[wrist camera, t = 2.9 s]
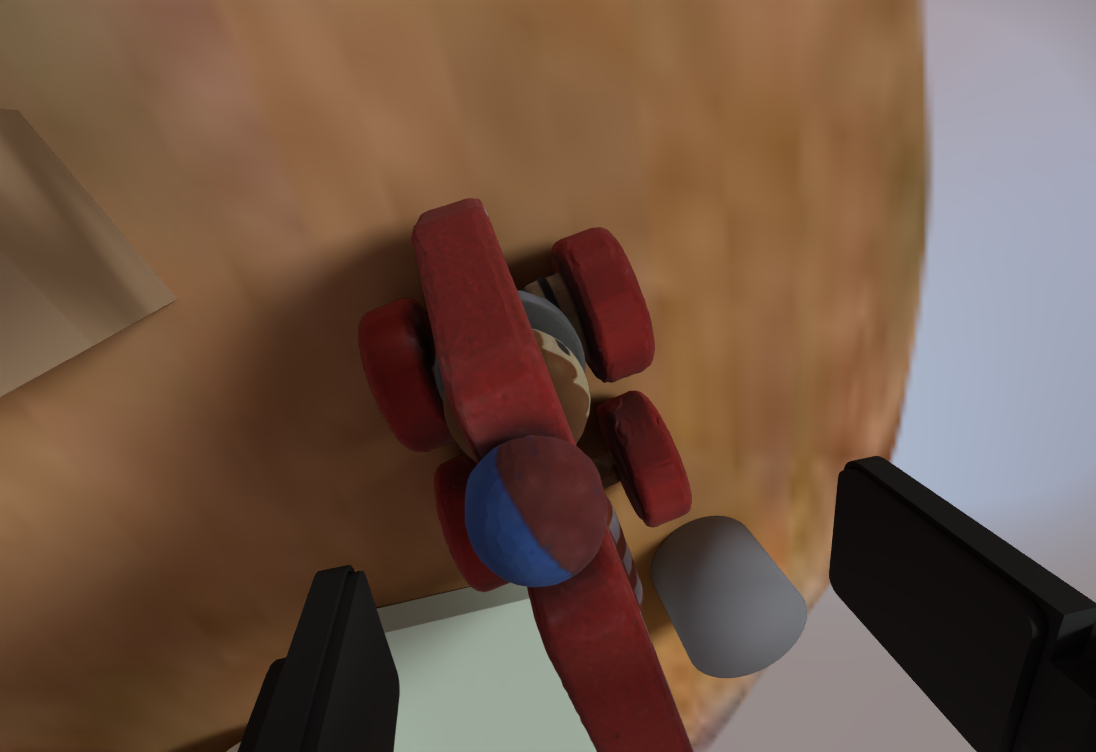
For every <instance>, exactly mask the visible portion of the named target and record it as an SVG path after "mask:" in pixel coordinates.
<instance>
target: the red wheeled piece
mask: <svg viewBox="0 0 1096 752" xmlns="http://www.w3.org/2000/svg"><path fill="white" fill-rule="evenodd" d="M411 239H412V243H413V246H414V251H415V256H416V260H417V263H418V268H419V273H420V278H421V284H422V288H423V293H424V297H425V302H426V306H427V311H428V315H429V317H428V315H427V313H426V312H425V310H424V309H423V307H422V306H421V305H420V304H419V303H418V302H416V301H414V300H412V299H400V300H397V301H395V302H392V303H389V304H387V305H384V306H381V307H379V308H377V309H374V310H372V311H370V312H368V313H366V314H365V315H364V316H363V317H362V320H361V322H360V324H359V328H358V342H359V348H360V354H361V359H362V364H363V368H364V371H365V374H366V377H367V380H368V383H369V386H370V389H371V392H372V394H373V396H374V398H375V400H376V403H377V405H378V407H379V410H380V412H381V414H382V415H383V417H384V418H385V420H386V422H387V423H388V425H389V427H390V429H391V430H392V432H393V433H394V434H395V436H396V437H397V439H398V440H399V441H400V442H401V443H402V444H403V445H404V446H405V447H407V448H409V449H410V450H412V451H414V452H417V453H418V452H428V451H430V450H432V449H436V448H439V447H441V446H443V445H447V444H448V443H450V442H454V441H456V443H457V444H458V445H459V447H460V448H461V449H462V450H463V451H464V452H465V453H466V454H464V455H461V456H459V457H456V458H454V459H451V460H449V461H447V462H445V463H443V464H441V465H440V466H439V467H438V469H437V471H436V473H435V478H434V491H435V499H436V506H437V512H438V516H439V520H440V523H441V526H442V530H443V533H444V536H445V539H446V542H447V544H448V546H449V550H450V553H451V555H452V557H453V559H454V561H455V563H456V565H457V567H458V569H459V571H460V572H461V574H462V575H463V578H464V579H465V580H466V581H467V583H468V584H469V585H470V586H471V587H472V588H473V589H475V590H476V591H479V592H488V591H492V590H494V589H496V588H499V587H501V586H503V585H506V584H508V583H513V584H516V585H520V586H527V590H528V595H529V599H530V602H531V606H532V611H533V615H534V619H535V622H536V625H537V628H538V631H539V634H540V636H541V639H542V642H543V645H544V648H545V650H546V653H547V655H548V657H549V660H550V661H551V662H552V664H553V667H554V669H555V671H556V672H557V674H558V676H559V678H560V679H561V682H562V685H563V688H564V689H565V690H566V692H567V694H568V696H569V699H570V700H571V702H572V704H573V706H574V708H575V710H576V712H577V714H578V715H579V716H580V720H581V723H582V724H583V726H584V728H585V729H586V731H587V733H588V735H589V737H590V740H591V741H592V743H593V745H594V747H595V749H596V751H597V752H694V751H693V748H692V746H691V743H690V741H689V738H688V736H687V733H686V731H685V728H684V725H683V723H682V720H681V717H680V715H679V712H678V709H677V707H676V704H675V701H674V699H673V696H672V694H671V691H670V688H669V685H668V683H667V680H666V677H665V675H664V672H663V670H662V668H661V665H660V663H659V660H658V657H657V654H656V651H655V649H654V646H653V643H652V641H651V638H650V636H649V633H648V630H647V628H646V625H645V622H644V620H643V617H642V610H643V604H644V592H643V588H642V584H641V581H640V579H639V576H638V574H637V571H636V568H635V565H634V562H633V559H632V556H631V552H630V550H629V547H628V545H627V542H626V540H625V537H624V534H623V531H622V528H621V526H620V523H619V521H618V518H617V515H616V513H615V511H614V508H613V506H612V503H611V501H610V500H609V498H608V497H607V496H606V494H605V491H604V489H603V488H605V487H608V486H610V485H613V484H615V483H618V482H619V481H621V484H622V486H623V488H624V490H625V493H626V495H627V497H628V499H629V501H630V503H631V505H632V507H633V508H634V510H635V512H636V514H637V515H638V516H639V518H641V519H642V520H643V521H644V523H645V524H646V525H647V526H649V527H657V526H659V525H661V524H664V523H666V522H669V521H671V520H674V519H676V518H679V517H681V516H683V515H685V514H687V513H688V512H689V511H690V509H691V503H692V495H691V490H690V485H689V481H688V478H687V475H686V472H685V469H684V466H683V464H682V461H681V458H680V455H679V453H678V450H677V448H676V446H675V444H674V442H673V439H672V437H671V434H670V433H669V431H668V429H667V427H666V425H665V423H664V421H663V420H662V418H661V416H660V414H659V413H658V411H657V409H656V408H655V406H654V405H653V404H652V402H651V401H650V400H649V398H648V397H646V396H645V395H644V394H643V393H641V392H639V391H628V392H626V393H624V394H622V395H620V396H617V397H615V398H612V399H609V400H606V401H605V402H603V403H602V404H600V405H598V407H597V419H598V423H599V426H600V430H601V433H602V436H603V439H604V441H605V444H606V447H607V450H608V452H609V453H608V454H606V455H603V456H600V457H598V458H596V459H594V460H591V459H590V458H589V457H588V456H587V455H586V454H585V453H584V452H583V451H582V450H580V449H579V448H578V447H577V446H576V444H577V442H578V441H579V439H580V437H581V435H582V434H583V431H584V428H585V425H586V422H587V419H588V416H589V410H590V402H591V401H590V393H589V387H588V383H587V379H586V376H585V361H586V363H587V364H588V366H589V367H590V369H591V370H592V372H593V373H594V375H595V376H596V377H597V378H598V379H600V380H602V382H604V383H606V382H615V381H618V380H619V379H622V378H625V377H628V376H630V375H633V374H636V373H640V372H642V371H644V370H645V369H646V368H647V367H648V366H650V365H651V363H652V361H653V357H654V351H655V343H654V335H653V329H652V323H651V319H650V315H649V311H648V309H647V306H646V303H645V300H644V297H643V295H642V292H641V290H640V287H639V284H638V281H637V278H636V276H635V273H634V271H633V269H632V267H631V264H630V262H629V260H628V258H627V256H626V254H625V253H624V251H623V249H622V247H621V245H620V244H619V242H618V241H617V239H616V238H615V237H614V236H613V235H612V234H611V233H610V232H609V231H608V230H607V229H604V228H601V227H597V228H590V229H588V230H585V231H582V232H580V233H577V234H574V235H572V236H569V237H566V238H563V239H561V240H559V241H557V242H556V243H555V244H554V246H553V248H552V252H551V264H552V270H553V273H554V275H552V276H549V277H539V278H538V279H537V280H536V281H535V282H533V283H530V284H528V285H527V286H525V288H524V289H523V290H522V291H520V290H517V289H516V287H515V284H514V281H513V279H512V276H511V274H510V271H509V269H508V266H507V263H506V261H505V258H504V256H503V253H502V250H501V248H500V245H499V243H498V240H497V237H496V235H495V232H494V230H493V227H492V224H491V222H490V219H489V217H488V214H487V212H486V210H485V208H484V206H483V204H482V202H481V201H480V200H479V199H473V198H469V199H464V200H461V201H458V202H455V203H452V204H449V205H446V206H442V207H439V208H435V209H432V210H429V211H427V212H425V213H423V214H421V215H420V217H419V219H418V222H417V223H416V225H415V226H414V228H413V232H412V238H411Z"/></svg>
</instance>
